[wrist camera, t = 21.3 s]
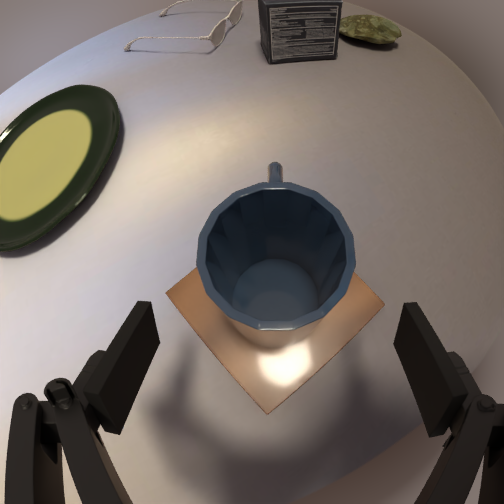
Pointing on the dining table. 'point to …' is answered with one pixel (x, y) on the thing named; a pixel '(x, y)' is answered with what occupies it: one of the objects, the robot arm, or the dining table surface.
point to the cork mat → (273, 359)
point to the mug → (275, 260)
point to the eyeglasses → (218, 30)
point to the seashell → (370, 28)
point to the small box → (299, 29)
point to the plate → (53, 160)
